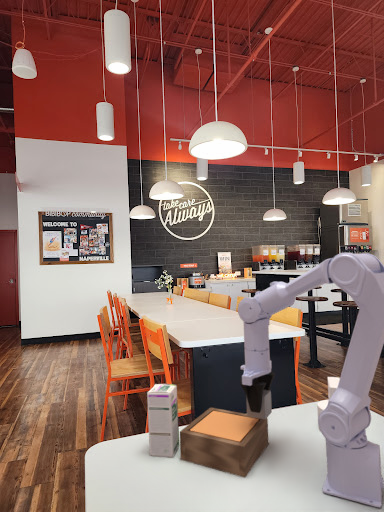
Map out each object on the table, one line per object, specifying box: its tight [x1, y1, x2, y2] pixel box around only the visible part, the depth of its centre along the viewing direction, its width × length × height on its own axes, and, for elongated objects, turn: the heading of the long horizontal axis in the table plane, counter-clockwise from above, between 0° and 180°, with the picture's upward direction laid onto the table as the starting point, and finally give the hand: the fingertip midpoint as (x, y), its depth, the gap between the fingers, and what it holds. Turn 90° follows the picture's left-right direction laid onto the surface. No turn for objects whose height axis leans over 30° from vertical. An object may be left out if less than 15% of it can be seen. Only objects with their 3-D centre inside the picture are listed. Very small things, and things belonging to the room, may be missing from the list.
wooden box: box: [179, 407, 270, 478], centre depth 80 cm, size 15×15×6 cm
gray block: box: [245, 389, 273, 419], centre depth 81 cm, size 4×4×5 cm
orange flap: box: [190, 411, 259, 443], centre depth 80 cm, size 12×12×1 cm
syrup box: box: [146, 383, 180, 458], centre depth 82 cm, size 6×6×14 cm
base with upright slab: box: [316, 376, 340, 431], centre depth 89 cm, size 9×9×12 cm
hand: (259, 407), depth 81 cm, fingers closed on gray block, 4 cm apart
